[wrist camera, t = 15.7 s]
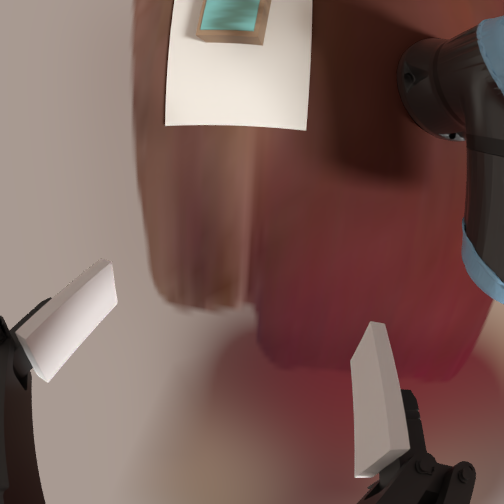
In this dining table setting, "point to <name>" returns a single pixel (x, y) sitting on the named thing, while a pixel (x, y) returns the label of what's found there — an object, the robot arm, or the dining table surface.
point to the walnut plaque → (233, 21)
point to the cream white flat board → (240, 71)
